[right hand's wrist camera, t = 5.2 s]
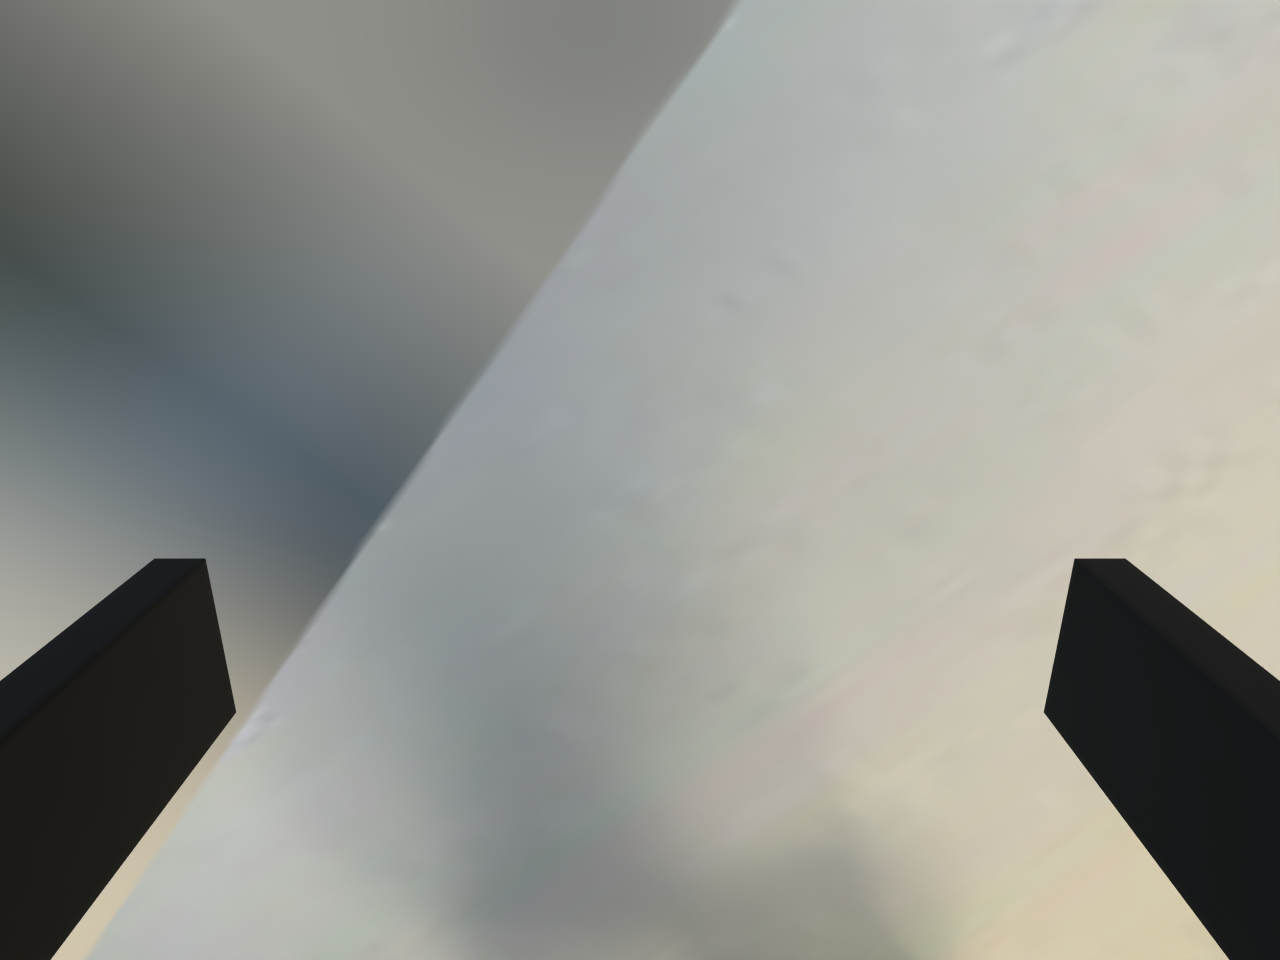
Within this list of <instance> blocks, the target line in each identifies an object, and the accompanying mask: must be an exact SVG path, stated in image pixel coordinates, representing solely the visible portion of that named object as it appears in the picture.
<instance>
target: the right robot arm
mask: <svg viewBox="0 0 1280 960" xmlns="http://www.w3.org/2000/svg"><path fill="white" fill-rule="evenodd" d="M235 713H236V709H235V704H234V699H233V694H232V689H231V684H230V679H229V674H228V669H227V664H226V659H225V654H224V649H223V644H222V639H221V634H220V629H219V624H218V619H217V614H216V609H215V604H214V599H213V595H212V589H211V585H210V579H209V574H208V569H207V564H206V559H154V560H152V561H151V562H150V563H149V564H147V565H146V566H145V567H143V568H142V569H141V570H140V571H138V572H137V573H136V574H135V575H133V576H132V577H131V578H130V579H128V580H127V581H126V582H125V583H123V584H122V585H121V586H120V587H118V588H117V589H116V590H115V591H113V592H112V593H111V594H109V595H108V596H107V597H106V598H104V599H103V600H102V601H101V602H99V603H98V604H97V605H96V606H94V607H93V608H92V609H91V610H89V611H88V612H87V613H85V614H84V615H83V616H82V617H80V618H79V619H78V620H77V621H75V622H74V623H73V624H72V625H70V626H69V627H68V628H67V629H65V630H64V631H63V632H62V633H60V634H59V635H58V636H56V637H55V638H54V639H53V640H51V641H50V642H49V643H48V644H46V645H45V646H44V647H43V648H41V649H40V650H39V651H38V652H36V653H35V654H34V655H33V656H31V657H30V658H29V659H27V660H26V661H25V662H24V663H22V664H21V665H20V666H19V667H17V668H16V669H15V670H14V671H12V672H11V673H10V674H9V675H7V676H6V677H5V678H4V679H2V680H1V681H0V960H51V958H52V957H53V956H54V954H55V953H56V952H57V950H58V949H59V948H60V946H61V945H62V944H63V942H64V941H65V940H66V938H67V937H68V936H69V934H70V933H71V932H72V930H73V929H74V928H75V926H76V925H77V924H78V922H79V921H80V920H81V918H82V917H83V916H84V914H85V913H86V912H87V910H88V909H89V908H90V906H91V905H92V904H93V902H94V901H95V900H96V898H97V897H98V896H99V894H100V893H101V892H102V890H103V889H104V888H105V886H106V885H107V884H108V882H109V881H110V880H111V878H112V877H113V876H114V874H115V873H116V872H117V870H118V869H119V868H120V866H121V865H122V864H123V862H124V861H125V860H126V858H127V857H128V856H129V854H130V853H131V852H132V850H133V849H134V848H135V846H136V845H137V844H138V842H139V841H140V840H141V838H142V837H143V836H144V834H145V833H146V832H147V830H148V829H149V828H150V826H151V825H152V824H153V822H154V821H155V820H156V818H157V817H158V816H159V814H160V813H161V812H162V810H163V809H164V808H165V806H166V805H167V804H168V802H169V801H170V800H171V798H172V797H173V796H174V794H175V793H176V792H177V790H178V789H179V788H180V786H181V785H182V784H183V782H184V781H185V780H186V778H187V777H188V776H189V774H190V773H191V772H192V770H193V769H194V768H195V766H196V765H197V764H198V762H199V761H200V760H201V758H202V757H203V756H204V754H205V753H206V752H207V750H208V749H209V748H210V746H211V745H212V744H213V742H214V741H215V740H216V738H217V737H218V736H219V734H220V733H221V732H222V730H223V729H224V728H225V726H226V725H227V724H228V722H229V721H230V720H231V718H232V717H233V716H234V714H235ZM1044 713H1045V714H1046V716H1047V717H1048V718H1049V720H1050V721H1051V722H1052V724H1053V725H1054V726H1055V728H1056V729H1057V730H1058V732H1059V733H1060V734H1061V736H1062V737H1063V738H1064V740H1065V741H1066V742H1067V744H1068V745H1069V746H1070V748H1071V749H1072V750H1073V752H1074V753H1075V754H1076V756H1077V757H1078V758H1079V760H1080V761H1081V762H1082V764H1083V765H1084V766H1085V768H1086V769H1087V770H1088V772H1089V773H1090V774H1091V776H1092V777H1093V778H1094V780H1095V781H1096V782H1097V784H1098V785H1099V786H1100V788H1101V789H1102V790H1103V792H1104V793H1105V794H1106V796H1107V797H1108V798H1109V800H1110V801H1111V802H1112V804H1113V805H1114V806H1115V808H1116V809H1117V810H1118V812H1119V813H1120V814H1121V816H1122V817H1123V818H1124V820H1125V821H1126V822H1127V824H1128V825H1129V826H1130V828H1131V829H1132V830H1133V832H1134V833H1135V834H1136V836H1137V837H1138V838H1139V840H1140V841H1141V842H1142V844H1143V845H1144V846H1145V848H1146V849H1147V850H1148V852H1149V853H1150V854H1151V856H1152V857H1153V858H1154V860H1155V861H1156V862H1157V864H1158V865H1159V866H1160V868H1161V869H1162V870H1163V872H1164V873H1165V874H1166V876H1167V877H1168V878H1169V880H1170V881H1171V882H1172V884H1173V885H1174V886H1175V888H1176V889H1177V890H1178V892H1179V893H1180V894H1181V896H1182V897H1183V898H1184V900H1185V901H1186V902H1187V904H1188V905H1189V906H1190V908H1191V909H1192V910H1193V912H1194V913H1195V914H1196V916H1197V917H1198V918H1199V920H1200V921H1201V922H1202V924H1203V925H1204V926H1205V928H1206V929H1207V930H1208V932H1209V933H1210V934H1211V936H1212V937H1213V938H1214V940H1215V941H1216V942H1217V944H1218V945H1219V946H1220V948H1221V949H1222V950H1223V952H1224V953H1225V954H1226V956H1227V957H1228V958H1229V960H1280V681H1279V680H1278V679H1276V678H1275V677H1274V676H1273V675H1271V674H1270V673H1269V672H1268V671H1266V670H1265V669H1264V668H1263V667H1261V666H1260V665H1259V664H1258V663H1256V662H1255V661H1254V660H1253V659H1251V658H1250V657H1249V656H1247V655H1246V654H1245V653H1244V652H1242V651H1241V650H1240V649H1239V648H1237V647H1236V646H1235V645H1234V644H1232V643H1231V642H1230V641H1229V640H1227V639H1226V638H1225V637H1224V636H1222V635H1221V634H1220V633H1218V632H1217V631H1216V630H1215V629H1213V628H1212V627H1211V626H1210V625H1208V624H1207V623H1206V622H1205V621H1203V620H1202V619H1201V618H1200V617H1198V616H1197V615H1196V614H1195V613H1193V612H1192V611H1191V610H1189V609H1188V608H1187V607H1186V606H1184V605H1183V604H1182V603H1181V602H1179V601H1178V600H1177V599H1176V598H1174V597H1173V596H1172V595H1171V594H1169V593H1168V592H1167V591H1166V590H1164V589H1163V588H1162V587H1160V586H1159V585H1158V584H1157V583H1155V582H1154V581H1153V580H1152V579H1150V578H1149V577H1148V576H1147V575H1145V574H1144V573H1143V572H1142V571H1140V570H1139V569H1138V568H1137V567H1135V566H1134V565H1133V564H1131V563H1130V562H1129V561H1128V560H1126V559H1074V564H1073V569H1072V574H1071V579H1070V584H1069V589H1068V594H1067V599H1066V604H1065V609H1064V614H1063V619H1062V624H1061V629H1060V634H1059V639H1058V644H1057V649H1056V654H1055V659H1054V664H1053V669H1052V674H1051V679H1050V684H1049V689H1048V694H1047V699H1046V704H1045V709H1044Z"/></svg>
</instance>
